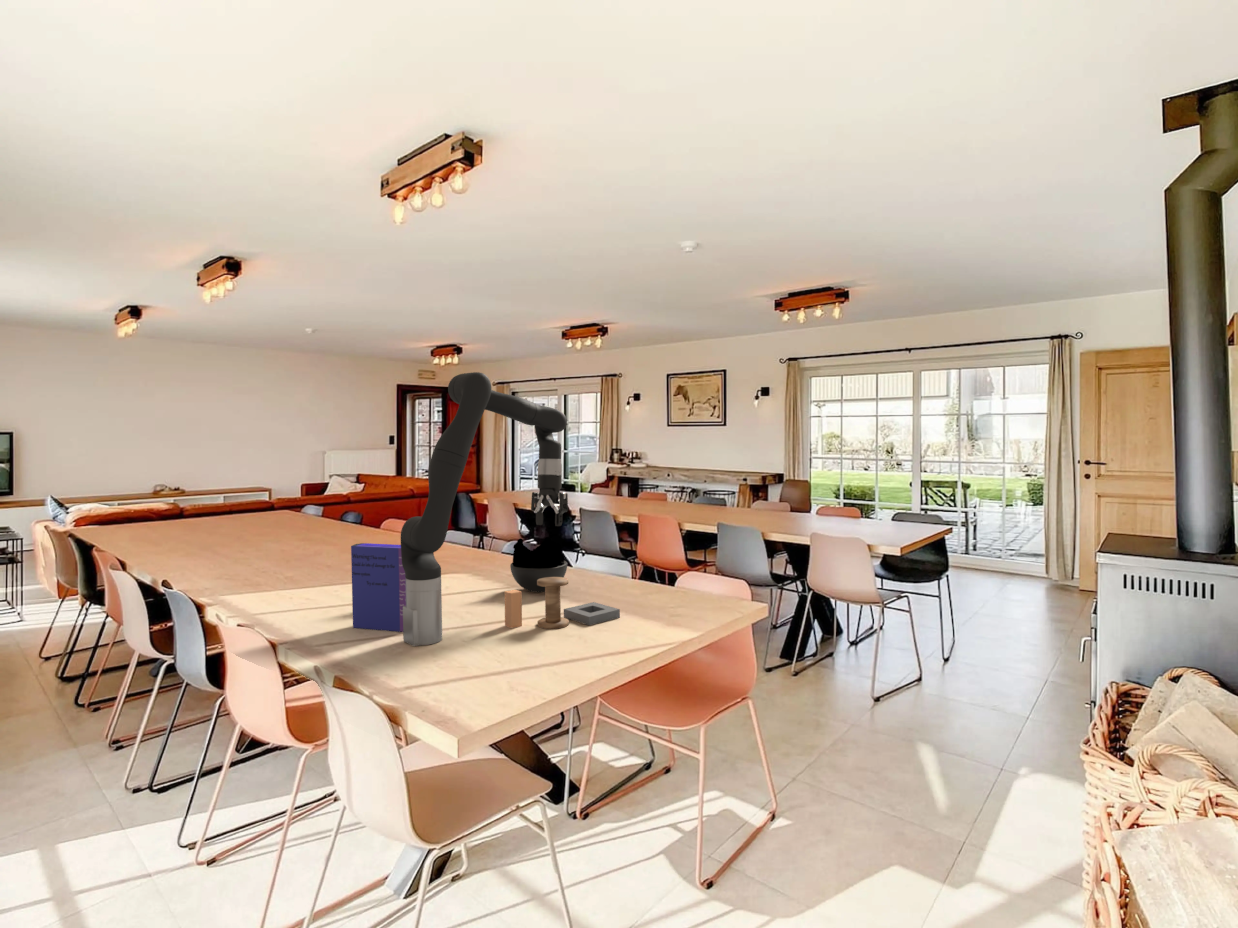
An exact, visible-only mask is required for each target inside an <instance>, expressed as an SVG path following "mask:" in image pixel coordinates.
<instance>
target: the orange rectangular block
mask: <svg viewBox="0 0 1238 928" xmlns="http://www.w3.org/2000/svg"><path fill="white" fill-rule="evenodd" d="M522 592H523V591H521V590H518V589H512V590H506V591H504V626H505V627H507V628H510V629H515V628H520V627H522V626H523V607H522V605H523V604H522V603H523V601H522V600H523V598H522V597H523V596H522V595H523V594H522Z"/></svg>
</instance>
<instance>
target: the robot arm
mask: <svg viewBox="0 0 1238 928" xmlns="http://www.w3.org/2000/svg"><path fill="white" fill-rule="evenodd" d="M447 392H448V395H449V397H450V399H451V400H452V401H453V402H454V403H456V404H457V405H458V408H457V411H456V414H455V416H454V417H453V420H452V421H451V422H450V423H449V425H448V426H447V428H446V429H445V430H444V431H443V432H442V434H441V435H440V437H439V439H438V440H437V442H436V443H435V446H434V449H433V452H432V454H431V458H430V460H429V464H428V471H427V472H428V475H427V477H428V480H427V481H428V498H427V502H426V505H425V507H424V510H423V513H422V515H421V516H412V517H410V518H408V519H407V520H406V521H405V522H404V523H403V525H402V527H401V530H400V545H401V557H402V566H403V568H404V571H405V586H406V606H403V632H402V634H403V638H402V639H403V642H404V643H406V644H409V645H410V646H411V647H417V646H428V645H433V644H437V643H439V642H441V641H442V640H443V611H442V608H443V603H442V602H443V601H442V599H443V597H442V567H441V565H440V563H439V562H438V561H437V559H436V557H435V554H434V553H436V552H437V551H439V550H440V549H441V548H442V546H443V545H444V543H445V540H446V537H447V534H448V529H449V526H450V525H449V524H450V520H451V514H452V510H453V505H454V503H455V502H454V501H455V499H456V496H457V492H458V489H459V485H460V482H461V479H462V476H463V473H464V471H465V467H466V464H467V462H468V459H469V454H470V451H471V447H472V445H473V442H474V439H475V436H476V434H477V433H476V432H477V430H478V427H479V424H480V421H481V419H482V417H483V415H484V412H485V411H489V412H492V413H495V414H498V415H501V416H503V417H506V418H508V419H511V420H514V421H517V422H519V423H522V424H523V425H527V426H534V431H535V434H536V435H535V436H536V439H537V443H538V464H537V489H539V491H538V492H537V491H535V492H532V493H531V504H530V509H531V512H534V513H535V524H536V525H537V526H542V525H544V513H543V512H544V510H545V509H546V508H547V507H551V508H552V509H553V510H554V513H555V515H554V524H555V525H554V526H555V527H561V526H562V524H563V514H564V513H567V512H568V510H569V502H568V501H569V499H568V497H569V495H568V492H564V491H562V492H561V491H560V490H561V489H562V480H563V479H562V476H563V473H562V471H563V469H562V468H563V467H562V466H563V465H562V444H561V442H560V441H558V440H554V439H555V438H554V435H553V434H555V433H560V432H562V431H564V430H565V429H566V427H567V425H568V418H567V416H566V414H564V412H562V411H561V410H559V409H557V408H554V407H551V406H547V405H546V406H545V405H540V404H537V403H535V402H533V401H530V400H528V399H525V398H523V397H520V396H517V395H512V394H508V393H505V392H504V393H502V392H499V391H495V390H493V389H492V383H491V380H490V378H489V376H487V374H485V373H483V372H479V371H477V372H475V371H474V372H465V373H460V374H459V373H458V374H456V375H454V376H453V377H452V378H451V379H450V381H449V383H448V387H447Z"/></svg>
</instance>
